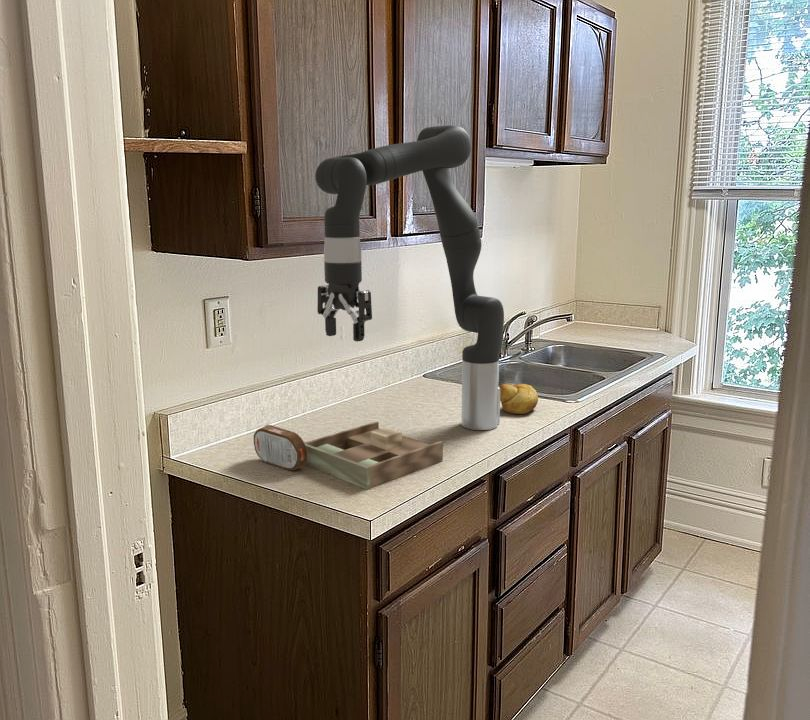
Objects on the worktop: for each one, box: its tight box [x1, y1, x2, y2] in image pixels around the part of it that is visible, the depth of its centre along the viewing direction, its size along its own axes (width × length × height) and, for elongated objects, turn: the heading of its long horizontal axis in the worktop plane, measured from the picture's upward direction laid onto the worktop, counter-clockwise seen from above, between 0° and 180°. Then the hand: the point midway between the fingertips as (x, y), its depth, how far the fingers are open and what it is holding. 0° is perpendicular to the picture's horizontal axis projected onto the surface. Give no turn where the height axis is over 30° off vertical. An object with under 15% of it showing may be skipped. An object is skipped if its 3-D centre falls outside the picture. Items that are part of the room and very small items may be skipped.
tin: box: [253, 424, 307, 472], centre depth 166 cm, size 15×3×8 cm, turn 51°
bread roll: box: [498, 383, 539, 415], centre depth 207 cm, size 13×10×8 cm
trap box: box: [304, 421, 444, 490], centre depth 168 cm, size 23×22×4 cm
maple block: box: [371, 426, 403, 450], centre depth 170 cm, size 5×5×3 cm
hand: (344, 338), depth 157 cm, fingers open, 8 cm apart
